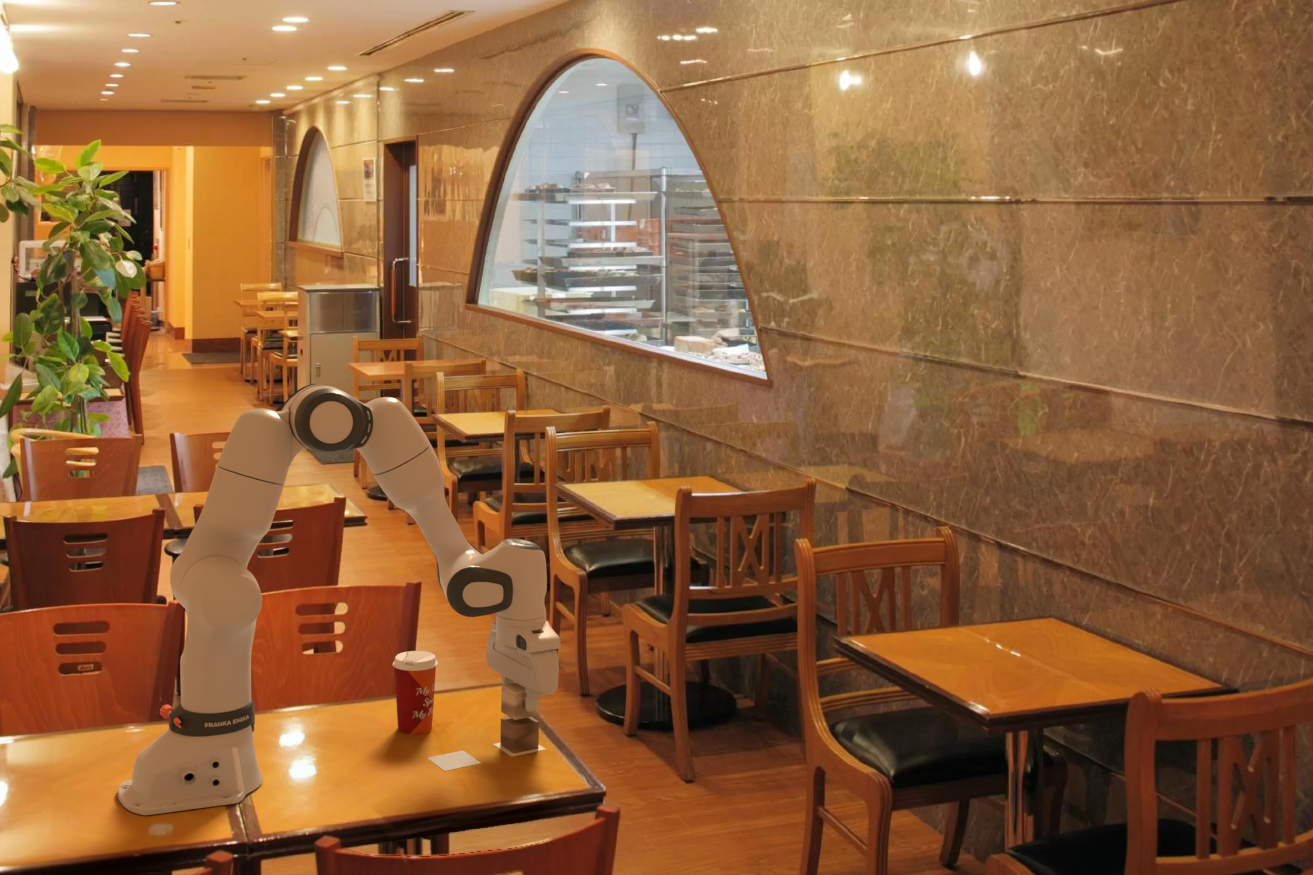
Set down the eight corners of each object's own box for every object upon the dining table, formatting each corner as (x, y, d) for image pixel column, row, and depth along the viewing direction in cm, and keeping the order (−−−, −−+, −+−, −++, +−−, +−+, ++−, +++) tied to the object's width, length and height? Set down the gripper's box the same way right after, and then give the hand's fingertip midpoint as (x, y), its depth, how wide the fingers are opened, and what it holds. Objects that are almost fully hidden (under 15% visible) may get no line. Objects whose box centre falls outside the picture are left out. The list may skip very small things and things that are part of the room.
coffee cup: (427, 744, 245) (428, 664, 243) (385, 739, 246) (385, 660, 244) (444, 728, 253) (444, 651, 251) (402, 724, 254) (403, 647, 252)
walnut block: (513, 753, 238) (514, 726, 238) (500, 744, 242) (500, 718, 242) (538, 748, 241) (538, 721, 240) (524, 739, 245) (525, 713, 244)
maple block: (514, 720, 237) (515, 692, 237) (501, 711, 241) (501, 684, 241) (539, 715, 240) (539, 688, 240) (525, 706, 244) (526, 680, 244)
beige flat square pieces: (451, 785, 226) (451, 778, 226) (415, 758, 238) (415, 751, 238) (563, 760, 239) (563, 753, 239) (524, 735, 250) (524, 729, 250)
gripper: (478, 618, 245) (477, 691, 247) (534, 646, 229) (532, 724, 231) (508, 613, 249) (507, 685, 251) (565, 641, 232) (564, 718, 234)
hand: (519, 704), depth 241 cm, fingers closed on maple block, 5 cm apart
